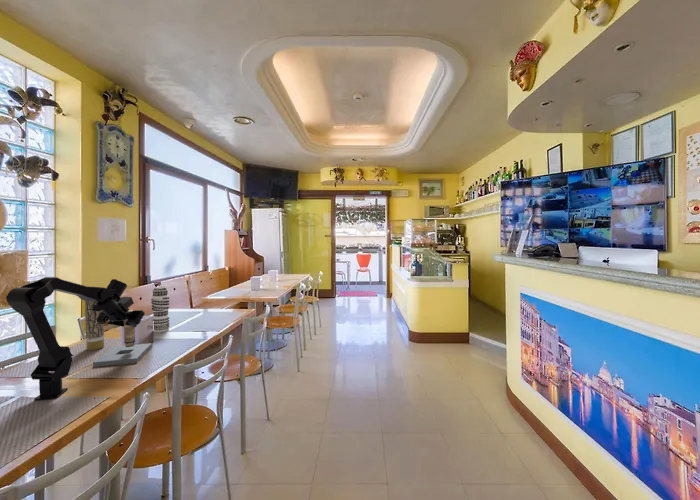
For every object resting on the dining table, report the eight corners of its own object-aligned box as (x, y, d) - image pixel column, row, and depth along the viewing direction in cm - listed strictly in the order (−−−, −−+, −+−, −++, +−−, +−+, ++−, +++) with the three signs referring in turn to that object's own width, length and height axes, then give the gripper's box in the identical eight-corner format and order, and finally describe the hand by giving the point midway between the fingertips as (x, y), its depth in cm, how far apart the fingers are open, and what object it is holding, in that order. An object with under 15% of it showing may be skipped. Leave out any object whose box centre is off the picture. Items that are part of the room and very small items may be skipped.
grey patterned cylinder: (94, 351, 152) (92, 298, 151) (82, 350, 153) (80, 298, 152) (107, 346, 159) (106, 296, 158) (96, 345, 160) (94, 295, 159)
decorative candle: (168, 326, 193) (167, 285, 191) (171, 330, 185) (170, 287, 184) (150, 329, 187) (149, 287, 186) (153, 333, 180) (152, 289, 178)
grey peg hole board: (136, 362, 138) (136, 358, 138) (93, 366, 134) (92, 362, 134) (151, 347, 157) (151, 343, 157) (114, 350, 153) (113, 346, 153)
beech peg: (136, 346, 144) (135, 310, 144) (125, 348, 142) (124, 312, 141) (134, 343, 147) (133, 309, 147) (123, 345, 145) (122, 310, 144)
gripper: (141, 292, 139) (159, 311, 150) (101, 291, 140) (122, 310, 152) (127, 314, 131) (147, 333, 143) (85, 313, 133) (108, 331, 144)
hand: (131, 326), depth 145 cm, fingers closed on beech peg, 4 cm apart
